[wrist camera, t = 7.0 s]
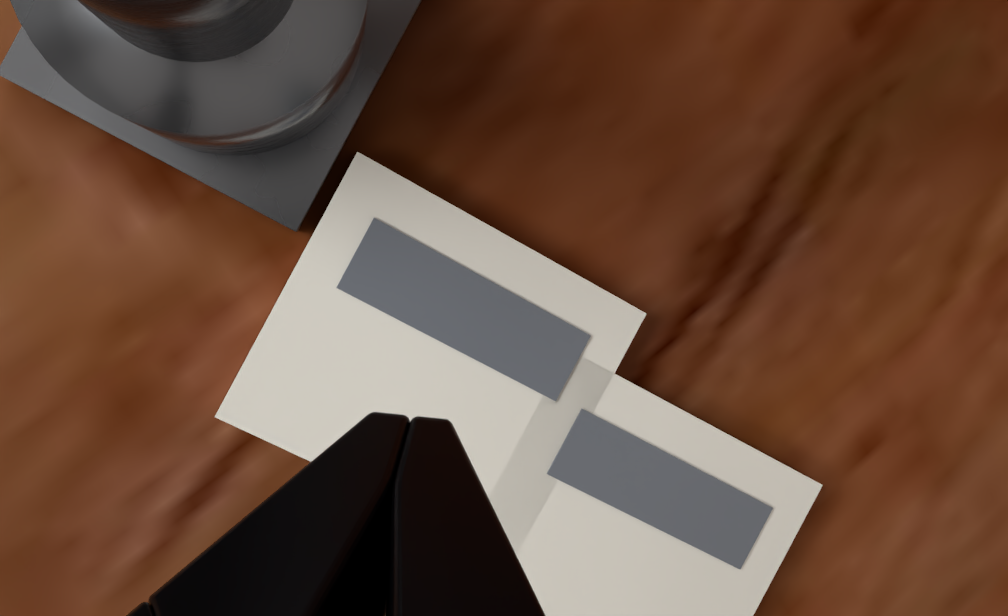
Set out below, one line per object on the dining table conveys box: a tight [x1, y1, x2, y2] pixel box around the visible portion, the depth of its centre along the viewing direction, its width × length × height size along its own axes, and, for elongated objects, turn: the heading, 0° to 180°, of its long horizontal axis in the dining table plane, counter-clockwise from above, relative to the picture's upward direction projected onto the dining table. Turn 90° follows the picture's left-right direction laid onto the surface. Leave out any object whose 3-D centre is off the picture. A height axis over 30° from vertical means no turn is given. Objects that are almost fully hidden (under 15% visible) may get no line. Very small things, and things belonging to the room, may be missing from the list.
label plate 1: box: [215, 152, 647, 556], centre depth 17 cm, size 6×7×1 cm
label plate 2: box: [490, 357, 823, 616], centre depth 19 cm, size 6×7×1 cm
